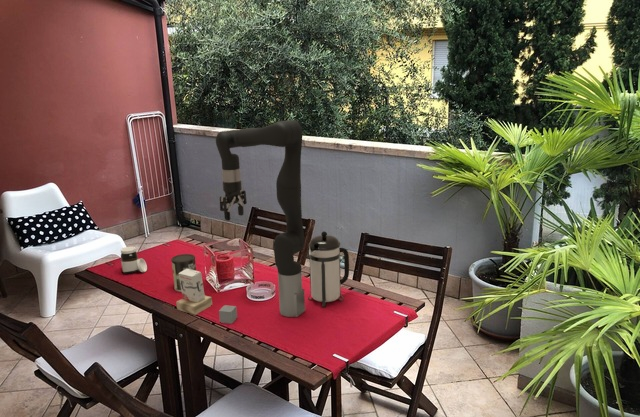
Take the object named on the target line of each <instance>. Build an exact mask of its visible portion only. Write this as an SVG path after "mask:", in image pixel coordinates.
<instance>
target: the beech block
mask: <svg viewBox="0 0 640 417" xmlns="http://www.w3.org/2000/svg"><path fill="white" fill-rule="evenodd" d="M212 298H213V296H209V295H205V298H204V299H203V300H201V301H199V302H198V303H196V302H193V301H189V300H185V299H183V297H181V299H178V300H177V301H176V310H177V311H180V312H184V313H187V314H190V315H193V316H194V315H195V316H196V315H199V313H201V312H203V311H205V310H206V309H208V308H210V307H211V305H212V306H213V299H212Z"/></svg>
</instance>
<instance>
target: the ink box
mask: <svg viewBox="0 0 640 417" xmlns="http://www.w3.org/2000/svg"><path fill="white" fill-rule="evenodd" d="M178 274H179V280H180V286H181V291H182V292H181V296H182V297H181V298H183V299H185V300H189V301H193V302H196V303H198V302H199V301H201V300H203V299H204V298H205V296H206V294H205V289H204V283H203V276H202V272H201V271H198V270H196V271H195V270H191V269H185V270H183V271H182V272H180V273H178Z"/></svg>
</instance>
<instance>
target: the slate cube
mask: <svg viewBox="0 0 640 417" xmlns="http://www.w3.org/2000/svg"><path fill="white" fill-rule="evenodd" d="M237 310H238V309H237V306H236V305H227V304H225V305H223V306H222V307H220V309H219V310H218V315H219V316H218V317H219V323H220V322H221V323H222V324H230V325H231V324H233V323H235V321H236V320H237V319H238V311H237ZM236 318H237V319H236Z"/></svg>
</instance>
